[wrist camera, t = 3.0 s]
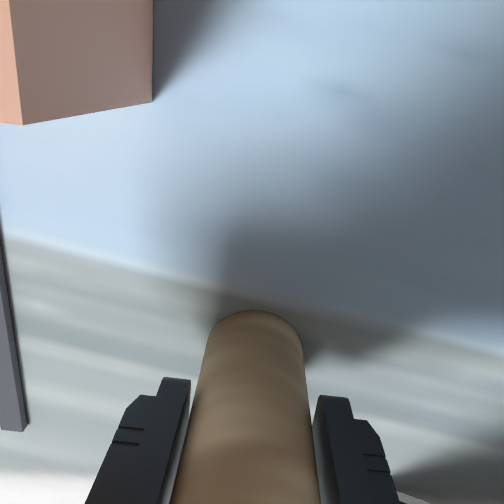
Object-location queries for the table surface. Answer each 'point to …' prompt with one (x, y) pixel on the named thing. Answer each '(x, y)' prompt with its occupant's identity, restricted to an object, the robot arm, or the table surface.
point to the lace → (9, 368)
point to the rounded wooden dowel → (249, 419)
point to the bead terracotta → (73, 57)
